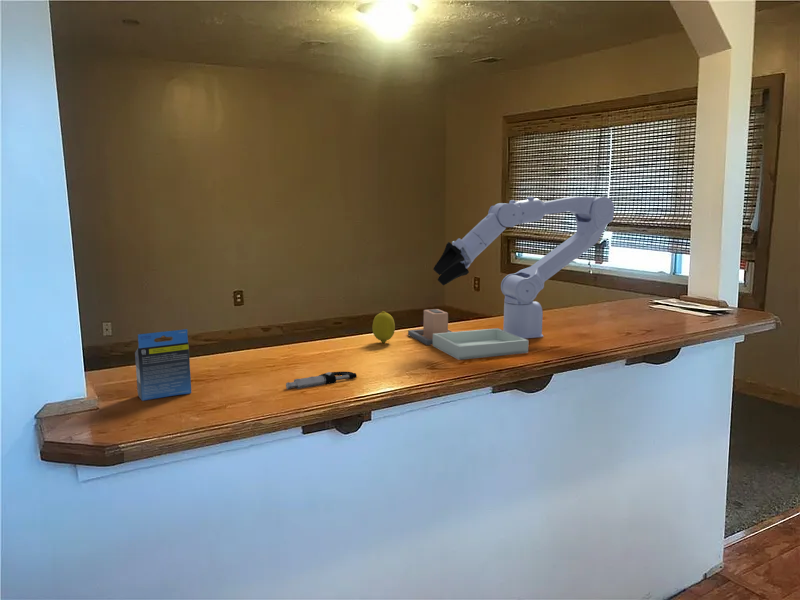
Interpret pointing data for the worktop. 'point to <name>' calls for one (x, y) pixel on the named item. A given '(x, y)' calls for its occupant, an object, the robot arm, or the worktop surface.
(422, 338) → the frame
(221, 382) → the worktop surface
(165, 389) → the label tape cartridge
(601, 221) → the robot arm
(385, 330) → the lemon
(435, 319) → the block
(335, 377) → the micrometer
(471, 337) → the parts tray
